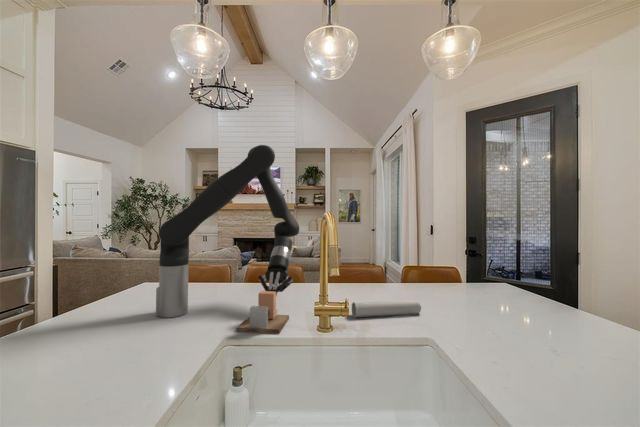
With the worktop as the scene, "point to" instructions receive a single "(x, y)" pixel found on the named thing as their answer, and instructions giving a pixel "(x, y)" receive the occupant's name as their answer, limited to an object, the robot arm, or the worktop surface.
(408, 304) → the tube
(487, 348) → the worktop surface
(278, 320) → the brown wooden board
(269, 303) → the orange tall block
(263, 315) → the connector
